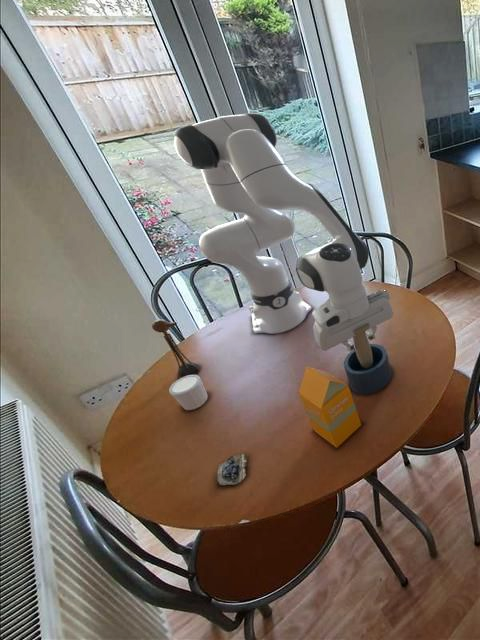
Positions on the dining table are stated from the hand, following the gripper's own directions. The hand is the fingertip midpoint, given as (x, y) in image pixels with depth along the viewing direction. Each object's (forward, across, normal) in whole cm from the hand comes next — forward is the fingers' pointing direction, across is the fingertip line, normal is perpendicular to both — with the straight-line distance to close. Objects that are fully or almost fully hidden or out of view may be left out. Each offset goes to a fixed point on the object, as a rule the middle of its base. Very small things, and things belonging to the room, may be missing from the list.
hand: (361, 343), depth 109 cm
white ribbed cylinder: (+14, +39, -26) cm, 49 cm away
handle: (+8, 0, 0) cm, 8 cm away
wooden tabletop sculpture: (+14, +38, -40) cm, 57 cm away
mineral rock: (+14, +36, +4) cm, 39 cm away
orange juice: (+14, +14, +10) cm, 22 cm away
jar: (+14, 0, 0) cm, 14 cm away
